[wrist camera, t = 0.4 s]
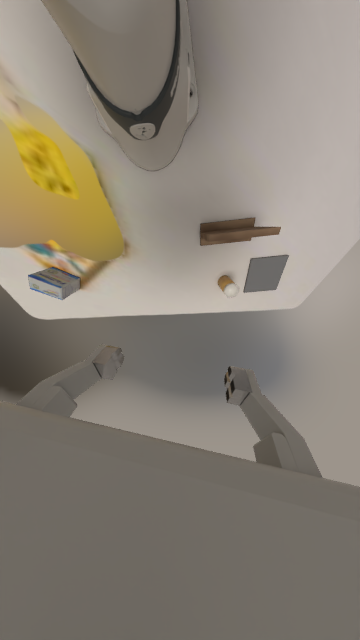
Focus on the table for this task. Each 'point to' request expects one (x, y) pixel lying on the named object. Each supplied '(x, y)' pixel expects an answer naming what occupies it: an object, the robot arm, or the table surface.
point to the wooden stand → (233, 231)
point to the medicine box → (54, 283)
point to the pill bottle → (228, 286)
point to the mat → (265, 273)
